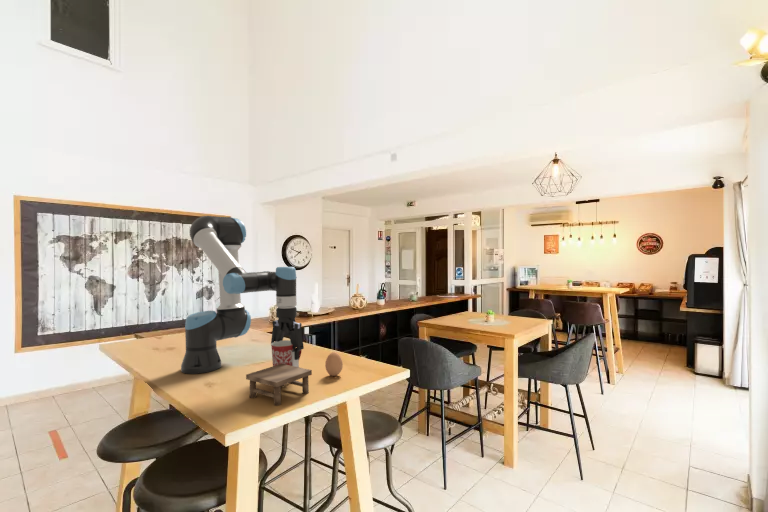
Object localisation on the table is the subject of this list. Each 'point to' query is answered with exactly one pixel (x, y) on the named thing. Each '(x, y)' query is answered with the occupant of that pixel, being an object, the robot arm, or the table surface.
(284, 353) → the mug
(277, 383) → the stool
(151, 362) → the table surface
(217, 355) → the robot arm
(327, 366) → the egg
